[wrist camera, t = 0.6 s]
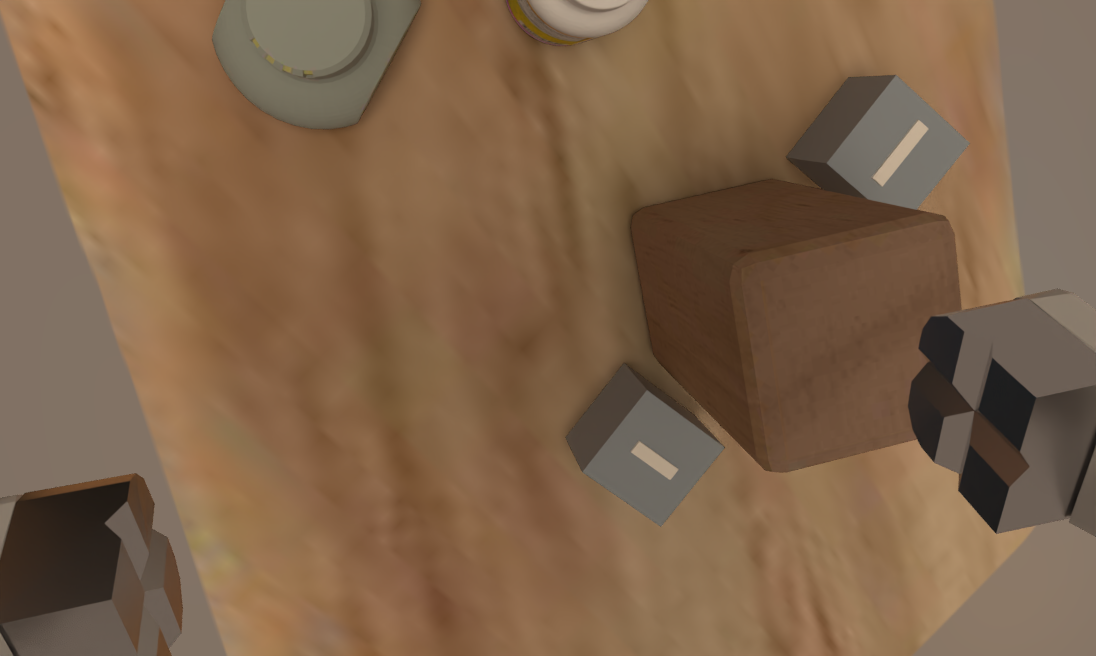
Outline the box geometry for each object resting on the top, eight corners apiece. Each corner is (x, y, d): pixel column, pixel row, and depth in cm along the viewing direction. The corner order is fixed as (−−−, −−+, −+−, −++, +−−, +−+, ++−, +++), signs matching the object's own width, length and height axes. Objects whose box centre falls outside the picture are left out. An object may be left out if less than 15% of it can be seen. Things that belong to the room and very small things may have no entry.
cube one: (917, 141, 61) (974, 145, 55) (856, 218, 61) (905, 231, 55) (847, 77, 59) (897, 75, 53) (785, 157, 60) (828, 163, 54)
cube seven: (697, 417, 63) (728, 450, 57) (639, 489, 63) (664, 530, 57) (623, 362, 61) (647, 391, 55) (565, 437, 62) (582, 473, 56)
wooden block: (624, 209, 59) (733, 262, 40) (781, 174, 60) (962, 209, 41) (652, 365, 61) (768, 486, 42) (802, 329, 62) (982, 431, 43)
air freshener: (300, -106, 52) (278, -153, 43) (436, -22, 54) (444, -48, 45) (207, 75, 54) (165, 69, 44) (343, 151, 56) (331, 161, 46)
